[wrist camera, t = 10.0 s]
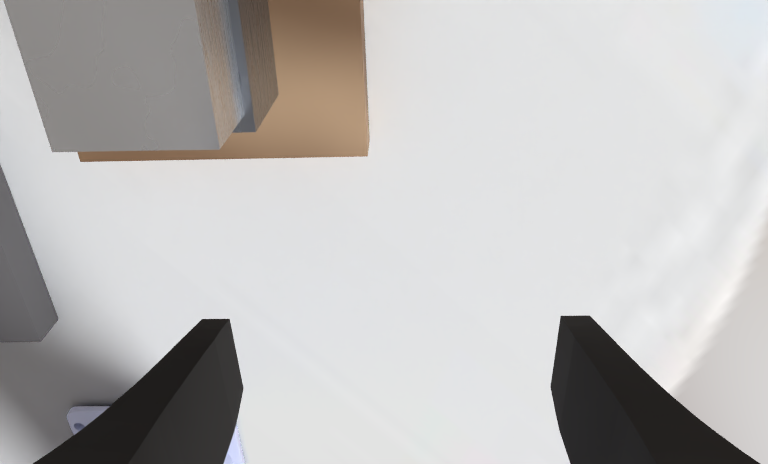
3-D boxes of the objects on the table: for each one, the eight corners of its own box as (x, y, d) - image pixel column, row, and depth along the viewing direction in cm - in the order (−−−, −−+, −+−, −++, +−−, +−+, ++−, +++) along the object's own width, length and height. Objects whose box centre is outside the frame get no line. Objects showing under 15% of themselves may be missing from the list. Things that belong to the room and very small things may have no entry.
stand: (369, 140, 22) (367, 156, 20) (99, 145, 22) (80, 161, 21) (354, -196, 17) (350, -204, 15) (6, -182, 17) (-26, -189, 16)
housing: (278, 94, 19) (233, 169, 14) (142, 97, 20) (48, 171, 14) (254, -120, 16) (185, -125, 11) (93, -115, 17) (-48, -118, 11)
